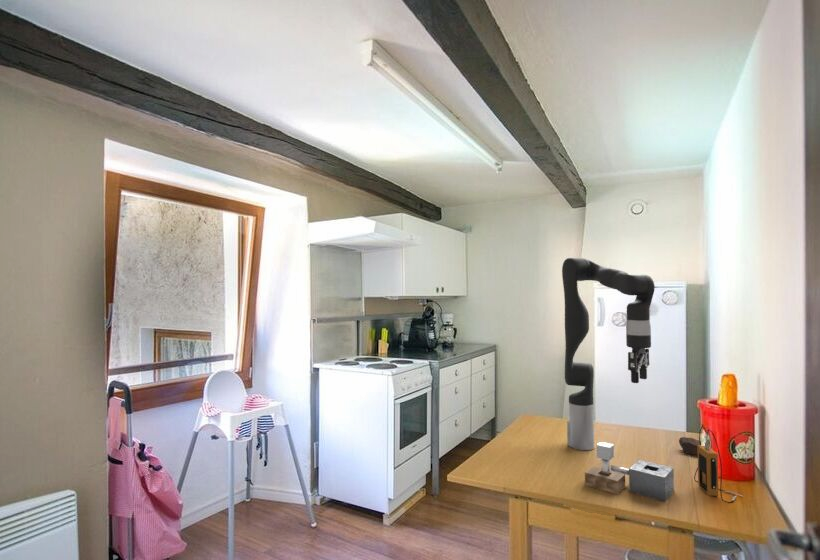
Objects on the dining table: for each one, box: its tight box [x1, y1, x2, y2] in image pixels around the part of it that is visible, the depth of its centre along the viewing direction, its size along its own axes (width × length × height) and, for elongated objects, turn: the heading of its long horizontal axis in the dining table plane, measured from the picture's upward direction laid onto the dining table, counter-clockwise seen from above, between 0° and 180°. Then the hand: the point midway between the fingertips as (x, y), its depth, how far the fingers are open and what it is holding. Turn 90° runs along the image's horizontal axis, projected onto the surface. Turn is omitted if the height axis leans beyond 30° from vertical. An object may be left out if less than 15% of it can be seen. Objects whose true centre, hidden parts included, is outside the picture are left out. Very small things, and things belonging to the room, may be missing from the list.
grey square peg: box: [596, 441, 615, 476], centre depth 145 cm, size 4×4×12 cm
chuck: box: [610, 459, 675, 502], centre depth 143 cm, size 17×10×7 cm, turn 47°
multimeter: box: [693, 424, 743, 504], centre depth 140 cm, size 15×10×20 cm
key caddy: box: [584, 465, 626, 495], centre depth 145 cm, size 10×7×4 cm
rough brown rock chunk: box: [678, 436, 701, 457], centre depth 173 cm, size 6×7×10 cm
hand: (639, 380), depth 155 cm, fingers open, 8 cm apart
